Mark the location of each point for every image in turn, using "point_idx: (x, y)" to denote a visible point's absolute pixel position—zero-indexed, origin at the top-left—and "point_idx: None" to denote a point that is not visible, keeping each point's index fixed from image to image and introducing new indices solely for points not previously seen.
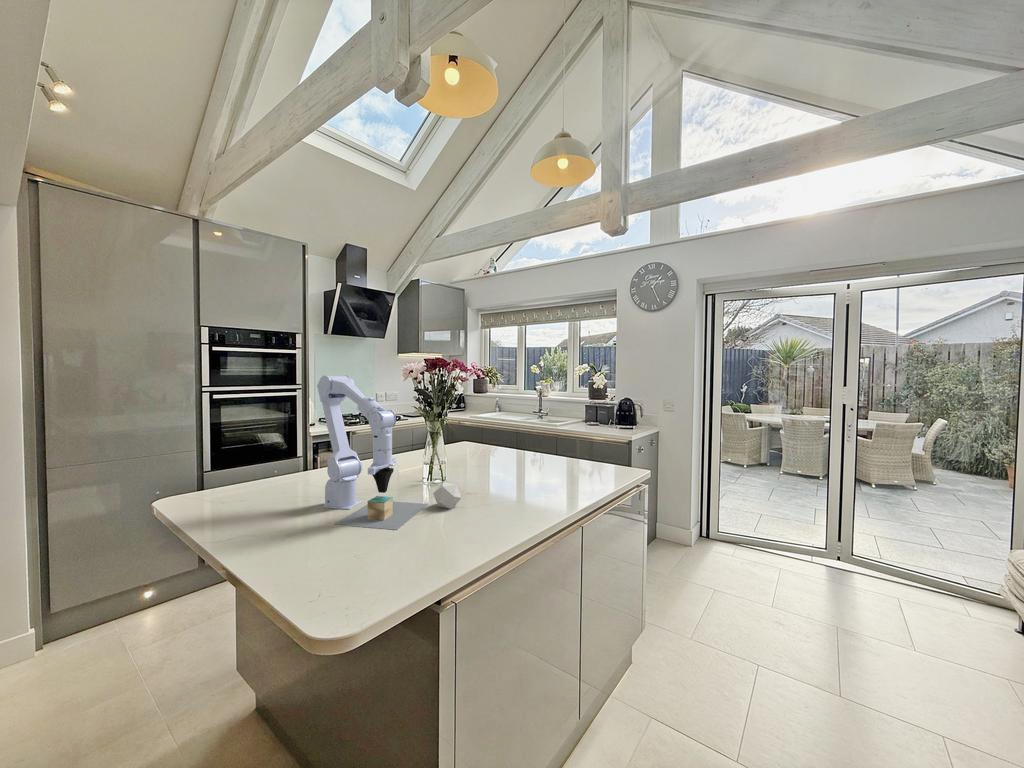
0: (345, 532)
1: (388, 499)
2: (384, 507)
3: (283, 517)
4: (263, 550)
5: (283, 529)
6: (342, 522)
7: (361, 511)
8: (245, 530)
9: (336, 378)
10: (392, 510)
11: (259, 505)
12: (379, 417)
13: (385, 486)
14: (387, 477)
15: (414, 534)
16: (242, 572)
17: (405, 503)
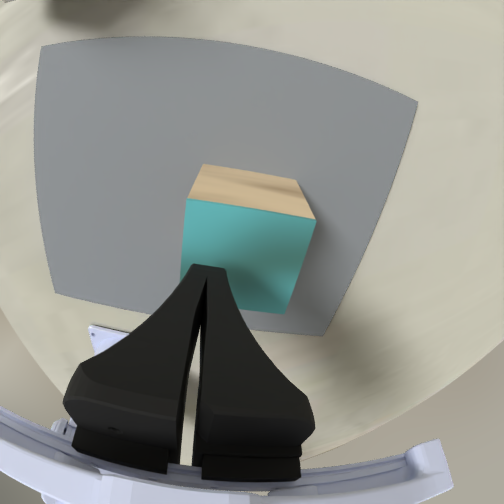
0: (395, 282)
1: (248, 212)
2: (308, 206)
3: None
4: (431, 372)
5: (330, 399)
6: (308, 322)
7: None
8: (321, 429)
9: None
10: (201, 169)
11: (184, 449)
12: None
13: (231, 296)
14: (223, 354)
15: (451, 37)
16: (491, 347)
17: (46, 158)
